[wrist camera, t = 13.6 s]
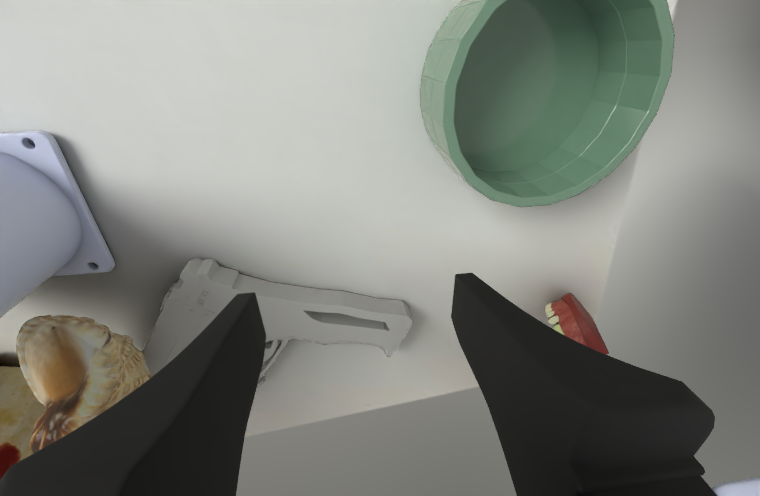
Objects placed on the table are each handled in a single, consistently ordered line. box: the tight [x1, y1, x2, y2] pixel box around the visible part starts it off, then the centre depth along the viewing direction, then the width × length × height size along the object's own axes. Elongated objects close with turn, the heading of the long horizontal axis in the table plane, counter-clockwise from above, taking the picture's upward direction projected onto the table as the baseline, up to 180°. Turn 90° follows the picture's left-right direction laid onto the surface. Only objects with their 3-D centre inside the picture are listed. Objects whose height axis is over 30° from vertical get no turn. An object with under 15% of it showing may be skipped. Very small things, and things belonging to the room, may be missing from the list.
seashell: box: [16, 315, 152, 453], centre depth 19 cm, size 8×6×10 cm
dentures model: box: [545, 293, 609, 355], centre depth 26 cm, size 6×4×8 cm
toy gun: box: [143, 259, 413, 387], centre depth 27 cm, size 2×28×15 cm
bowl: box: [420, 0, 675, 207], centre depth 17 cm, size 10×10×4 cm
